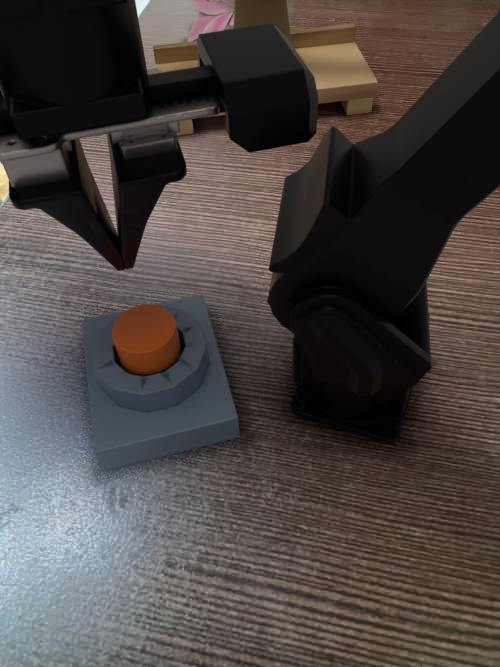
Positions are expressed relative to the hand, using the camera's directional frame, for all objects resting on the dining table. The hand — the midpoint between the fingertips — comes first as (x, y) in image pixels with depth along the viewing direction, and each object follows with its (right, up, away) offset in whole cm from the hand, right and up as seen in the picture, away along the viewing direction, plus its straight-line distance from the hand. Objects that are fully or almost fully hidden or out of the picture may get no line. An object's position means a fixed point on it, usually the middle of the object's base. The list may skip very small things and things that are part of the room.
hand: (124, 263), depth 32 cm
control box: (+1, -7, +6) cm, 9 cm away
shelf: (+8, +19, +28) cm, 35 cm away
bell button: (+1, -5, +3) cm, 6 cm away
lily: (+4, +29, +36) cm, 47 cm away
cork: (+8, +21, +26) cm, 34 cm away
